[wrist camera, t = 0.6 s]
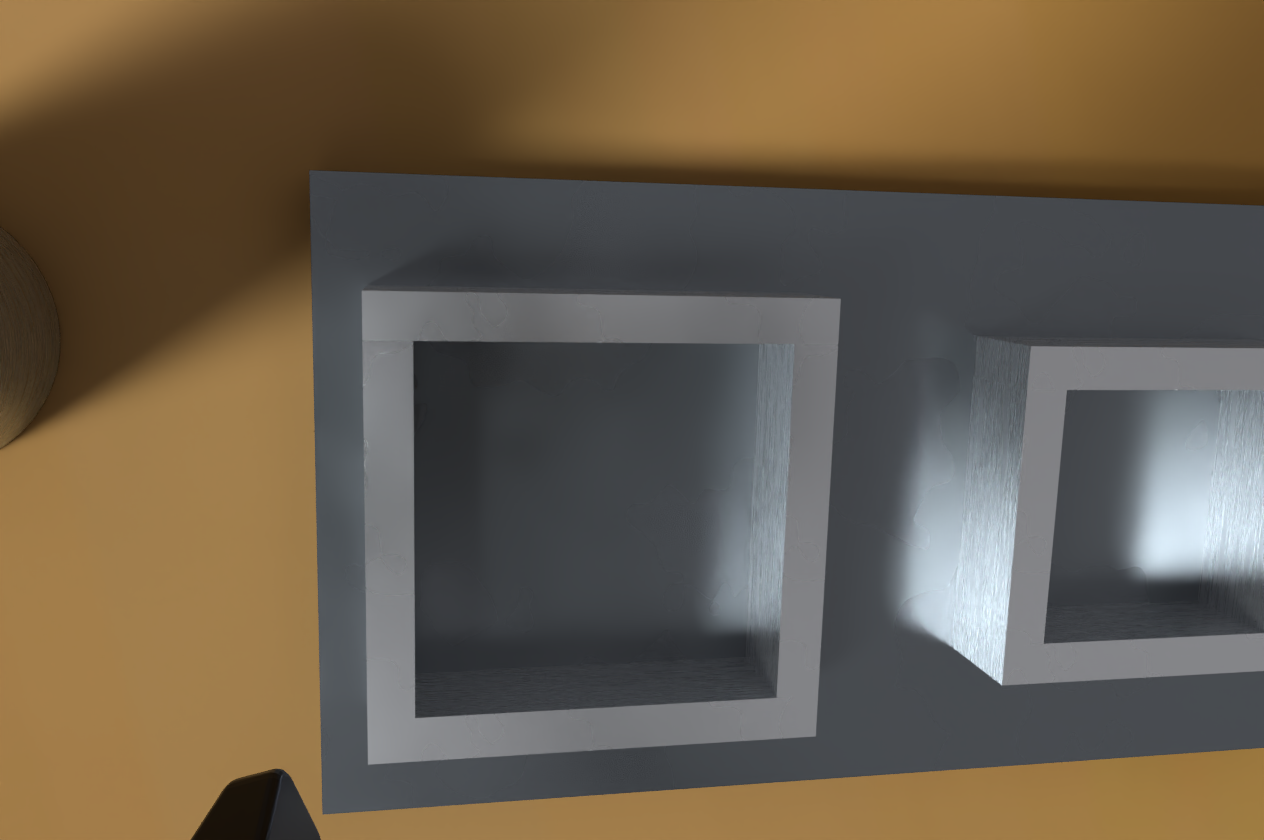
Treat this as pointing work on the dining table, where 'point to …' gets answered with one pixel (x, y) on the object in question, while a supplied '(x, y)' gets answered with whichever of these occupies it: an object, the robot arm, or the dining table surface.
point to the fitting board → (776, 484)
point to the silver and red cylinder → (24, 339)
